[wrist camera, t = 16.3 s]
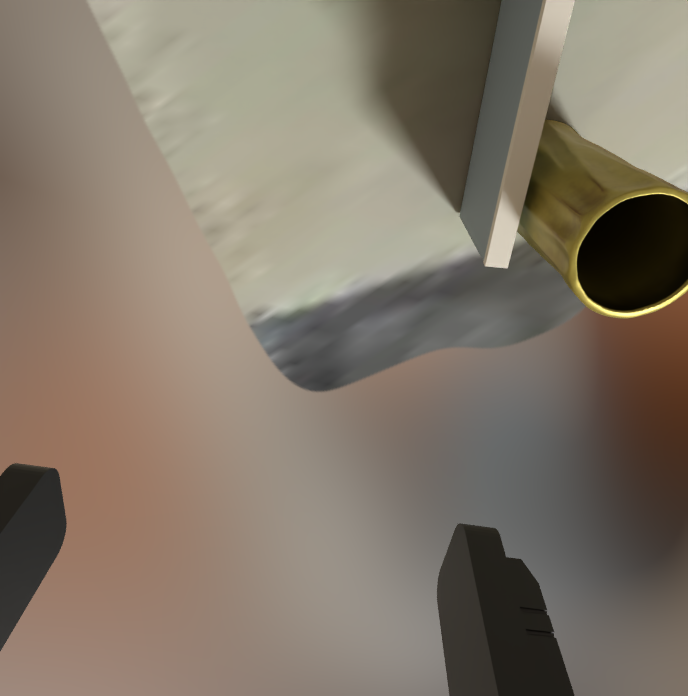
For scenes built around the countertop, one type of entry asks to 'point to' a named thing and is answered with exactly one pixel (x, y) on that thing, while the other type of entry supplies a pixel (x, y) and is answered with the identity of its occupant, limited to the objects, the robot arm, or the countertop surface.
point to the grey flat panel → (512, 121)
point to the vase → (606, 225)
